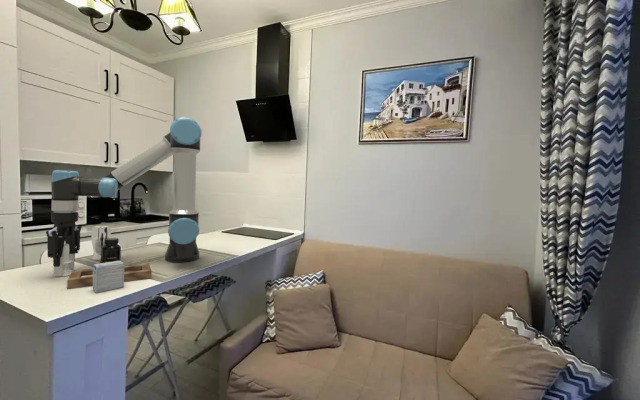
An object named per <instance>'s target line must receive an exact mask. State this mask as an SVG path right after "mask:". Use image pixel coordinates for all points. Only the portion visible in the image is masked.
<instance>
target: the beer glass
mask: <svg viewBox="0 0 640 400" xmlns="http://www.w3.org/2000/svg"><path fill="white" fill-rule="evenodd" d="M91 228H92V229H91V236H90V237H91V243H92V250H93V255H92V261H95V260H99V261H100V260H101V247H102V246H104V245H105V244H104V239H107V238H112V237H111V235H112V232H111V226H110V225H108V224H107V225H93V226H92V227H91Z"/></svg>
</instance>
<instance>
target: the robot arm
mask: <svg viewBox="0 0 640 400" xmlns="http://www.w3.org/2000/svg"><path fill="white" fill-rule="evenodd" d="M201 137H202V129H201V126H200V124H199V123H198V122H197V121H196V120H194V119H193V118H191V117H187V116H181V117H178V118H176V119H174V120H173V121H172V122H171V124H170V127H169V132H168V133H167V134H166V135H164V136H163V137H162V140H160V141H158V143H156V144H154V145H152V146H151V147H149V148H148V149H145V151H143V152H141V153H140V154H138V155H137V156H134V157H133V158H132V159H130V160H129V161H126V162H125V163H123V164H121V165H120V166H119V167H117V168H115V169H114V170H112V171H111V172H109V173H107V174H105V175H104V176H102V177H98V176H97V177H96V176H81V175H80V173H79V172H78V171H76V170H64V169H63V170H60V169H55V170H53V171H52V173H51V182H50V184H51V213H50V214H51V215H50V216H51V217H50V221H51V223H53V227H52V229H51V230H46V231H45V234H46V239H47V242H46V243H47V245H46V246H47V258H50V259H52V263H53V264H52V265H53V266H52V267H53V275H54V276H55V275H63V266H64V257H62V252H63V247H64V244H65V243H66V244H69V260H72V261H73V262H71V263H69V264H68V267H69V268H70V269H71V271H75V260H76V254H78V253H79V251H80V249H81V232H82V231H81V230H82V225H77V224H76V222H78V221H79V212H78V211H79V197H95V198H97V197H98V198H99V197H100V198H101V197H102V198H113V197H116V196H117V194H118V190H121V189H122V188H124V186H127V185H128V184H129V183H131V182H132V181H134V180H135V179H137V178H139V177H140V176H142V175H144V174H145V173H146V172H149V171H150V170H152V169H153V168H155V167H156V166H157V165H159V164H161V163H162V162H164V161H166V160H167V159H168V158H170V157H172V156H174V157H173V158H174V160H173V162H174V163H173V202H172V203H173V207H172V209H171V210H170V211H169V213H168V214H169V215H168V218H169V219H168V229H167V235H168V236H169V243H168V246H167V248H166V251H165V254H164V260H165V261H167V262H170V263H186V262H192V261H193V262H194V261H195V260H196V261H197V260H199V259H200V251H199V247H198V244H197V237H198V236H199V233H200V226H199V211H198V209H196V185H197V183H196V182H197V180H196V179H197V176H196V175H197V155H198V154H199V153H200V151H201Z"/></svg>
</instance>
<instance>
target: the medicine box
mask: <svg viewBox="0 0 640 400" xmlns="http://www.w3.org/2000/svg"><path fill="white" fill-rule="evenodd" d="M124 266H125V262H123V261H114V262H107V263H96V264H93V265H92V269H93V286H92V290H93V291H94V292H95V293H96V294H97V293H102V292H107V291H111V290H115V289H120V288H124V287H125V282H124Z"/></svg>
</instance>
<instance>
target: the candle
mask: <svg viewBox="0 0 640 400" xmlns="http://www.w3.org/2000/svg"><path fill="white" fill-rule="evenodd" d="M62 257H64V266H63V275H54V277H66V276H70V274H71V272H72V271H71V269H70V268H69V267H68V264H69V263H71V262H73V261H72V260H69V244H66V242H64V247H63V252H62Z"/></svg>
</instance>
